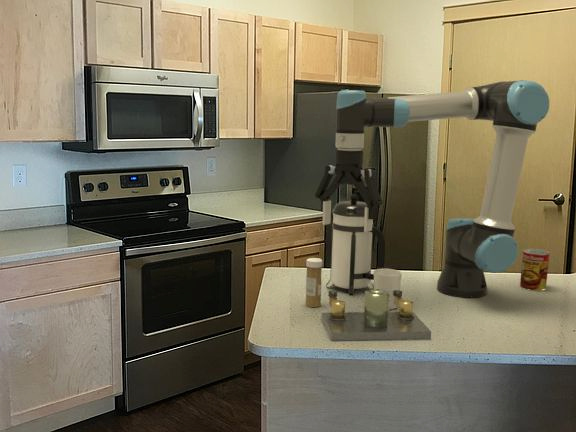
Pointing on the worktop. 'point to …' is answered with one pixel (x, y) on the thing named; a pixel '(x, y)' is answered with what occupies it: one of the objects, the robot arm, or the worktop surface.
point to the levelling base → (374, 332)
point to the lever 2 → (403, 305)
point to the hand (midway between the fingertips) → (346, 227)
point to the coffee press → (353, 247)
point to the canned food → (534, 269)
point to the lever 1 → (336, 306)
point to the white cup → (387, 282)
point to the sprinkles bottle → (313, 282)
